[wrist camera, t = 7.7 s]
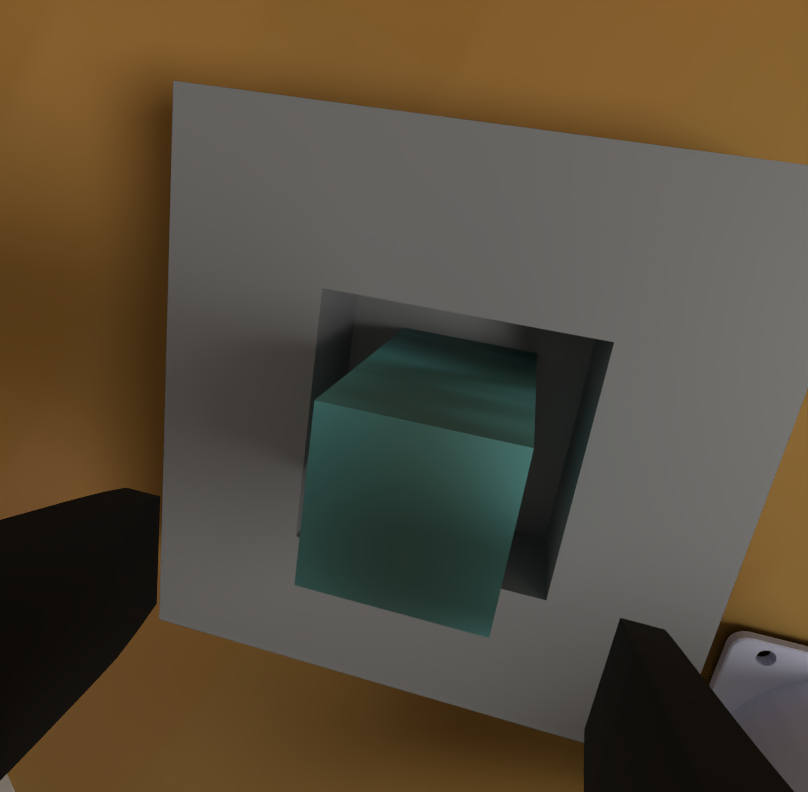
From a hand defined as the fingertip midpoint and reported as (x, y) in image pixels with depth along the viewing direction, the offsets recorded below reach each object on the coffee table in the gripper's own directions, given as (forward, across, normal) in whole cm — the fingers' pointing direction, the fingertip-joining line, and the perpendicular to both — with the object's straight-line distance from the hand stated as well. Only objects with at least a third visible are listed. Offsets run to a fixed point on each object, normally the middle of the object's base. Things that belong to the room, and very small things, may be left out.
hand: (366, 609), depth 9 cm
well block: (+9, 0, -1) cm, 9 cm away
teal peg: (+8, 0, -1) cm, 8 cm away
